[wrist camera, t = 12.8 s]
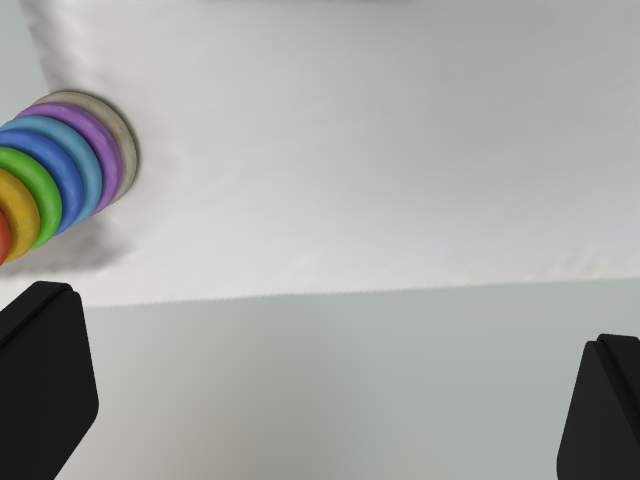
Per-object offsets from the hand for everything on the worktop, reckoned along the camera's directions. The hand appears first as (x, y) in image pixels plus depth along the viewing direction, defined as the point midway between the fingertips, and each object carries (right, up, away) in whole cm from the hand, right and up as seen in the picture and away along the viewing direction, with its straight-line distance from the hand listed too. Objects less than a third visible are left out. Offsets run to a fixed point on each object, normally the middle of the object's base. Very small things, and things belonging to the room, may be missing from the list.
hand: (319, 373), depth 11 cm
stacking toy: (-16, +9, +30) cm, 35 cm away
